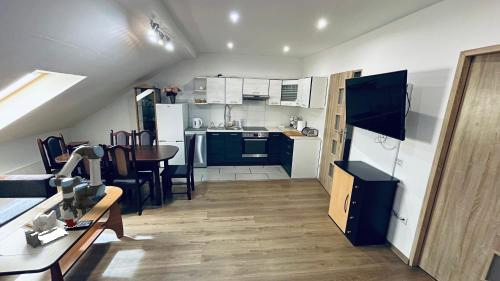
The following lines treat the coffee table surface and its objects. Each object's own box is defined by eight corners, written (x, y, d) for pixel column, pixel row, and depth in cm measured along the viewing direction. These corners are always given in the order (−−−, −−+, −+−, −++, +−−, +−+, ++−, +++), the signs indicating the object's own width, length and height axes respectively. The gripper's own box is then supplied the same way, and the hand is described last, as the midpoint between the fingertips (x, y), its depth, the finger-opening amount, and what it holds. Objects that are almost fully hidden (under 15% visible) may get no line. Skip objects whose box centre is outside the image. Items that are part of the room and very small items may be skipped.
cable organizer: (49, 230, 180) (47, 217, 178) (33, 232, 176) (31, 220, 174) (57, 220, 194) (55, 209, 192) (42, 222, 190) (40, 211, 188)
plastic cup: (64, 232, 178) (62, 219, 176) (64, 226, 186) (62, 214, 184) (80, 228, 185) (79, 215, 183) (80, 222, 193) (78, 210, 191)
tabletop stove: (58, 228, 183) (56, 215, 181) (68, 234, 176) (67, 221, 174) (23, 242, 164) (21, 228, 161) (34, 250, 157) (32, 235, 155)
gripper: (55, 195, 182) (58, 217, 186) (71, 201, 172) (74, 225, 175) (65, 192, 189) (68, 213, 192) (81, 198, 178) (84, 220, 182)
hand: (71, 219), depth 184 cm, fingers open, 13 cm apart
